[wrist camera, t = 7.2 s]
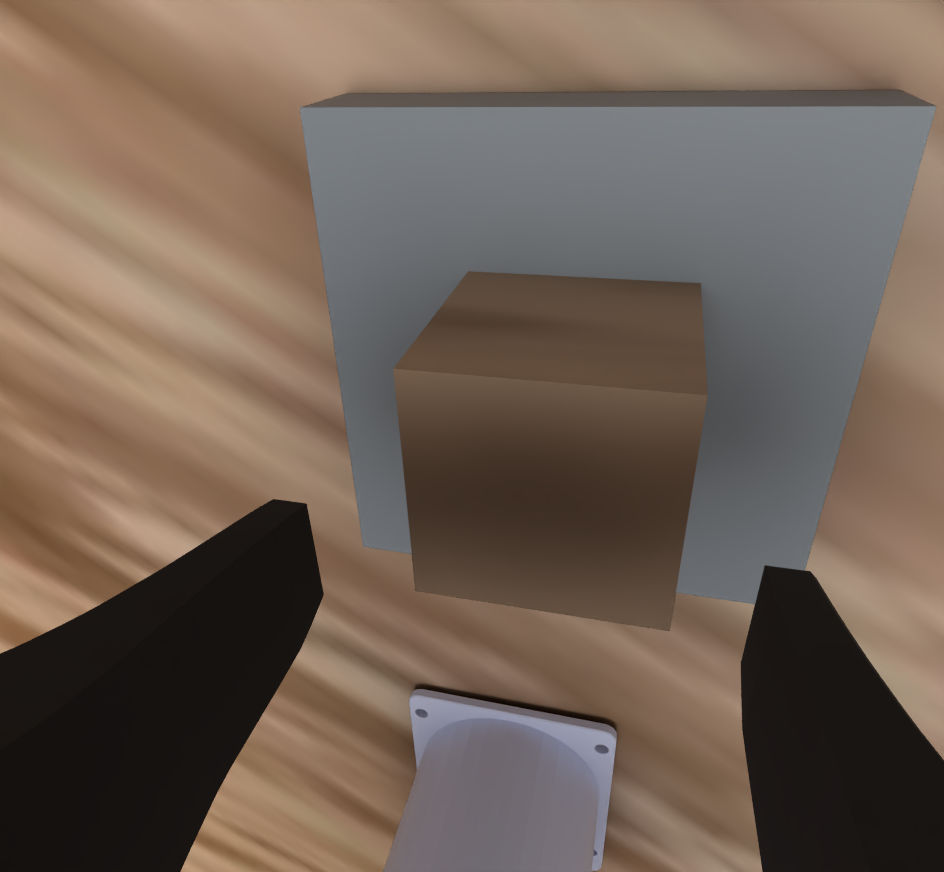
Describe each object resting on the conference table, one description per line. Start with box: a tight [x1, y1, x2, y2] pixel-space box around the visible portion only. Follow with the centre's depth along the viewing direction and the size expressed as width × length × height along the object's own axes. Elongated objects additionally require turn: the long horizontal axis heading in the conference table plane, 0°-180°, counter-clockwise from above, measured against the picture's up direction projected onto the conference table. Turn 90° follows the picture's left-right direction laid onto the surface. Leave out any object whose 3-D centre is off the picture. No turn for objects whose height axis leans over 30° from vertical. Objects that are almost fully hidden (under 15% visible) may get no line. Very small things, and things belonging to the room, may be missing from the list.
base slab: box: [300, 90, 936, 604], centre depth 18 cm, size 12×12×2 cm
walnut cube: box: [393, 271, 708, 631], centre depth 15 cm, size 5×5×5 cm
